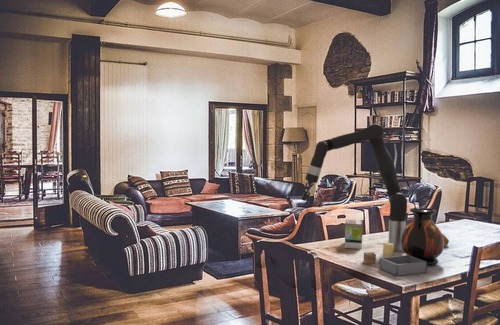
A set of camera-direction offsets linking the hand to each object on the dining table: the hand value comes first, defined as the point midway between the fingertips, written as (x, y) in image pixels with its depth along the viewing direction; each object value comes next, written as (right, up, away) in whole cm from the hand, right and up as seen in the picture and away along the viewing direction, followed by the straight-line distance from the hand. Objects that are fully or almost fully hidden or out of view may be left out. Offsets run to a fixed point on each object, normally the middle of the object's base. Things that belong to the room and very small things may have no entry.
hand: (305, 199), depth 276 cm
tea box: (+29, -28, +4) cm, 41 cm away
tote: (+42, -31, -49) cm, 71 cm away
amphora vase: (+57, -30, -32) cm, 72 cm away
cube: (+29, -30, -35) cm, 55 cm away
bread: (+73, -28, +14) cm, 79 cm away
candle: (+39, -30, -34) cm, 60 cm away
